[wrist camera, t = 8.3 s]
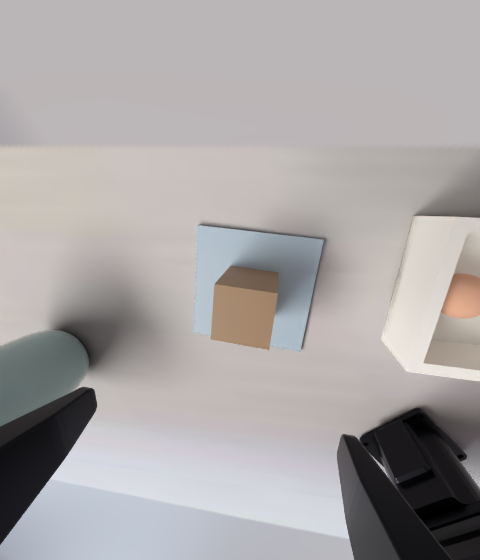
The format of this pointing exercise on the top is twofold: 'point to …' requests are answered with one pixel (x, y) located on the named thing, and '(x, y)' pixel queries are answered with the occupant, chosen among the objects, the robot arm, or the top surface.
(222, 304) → the lid
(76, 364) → the cup
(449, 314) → the ball terracotta
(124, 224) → the top surface
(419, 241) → the box
